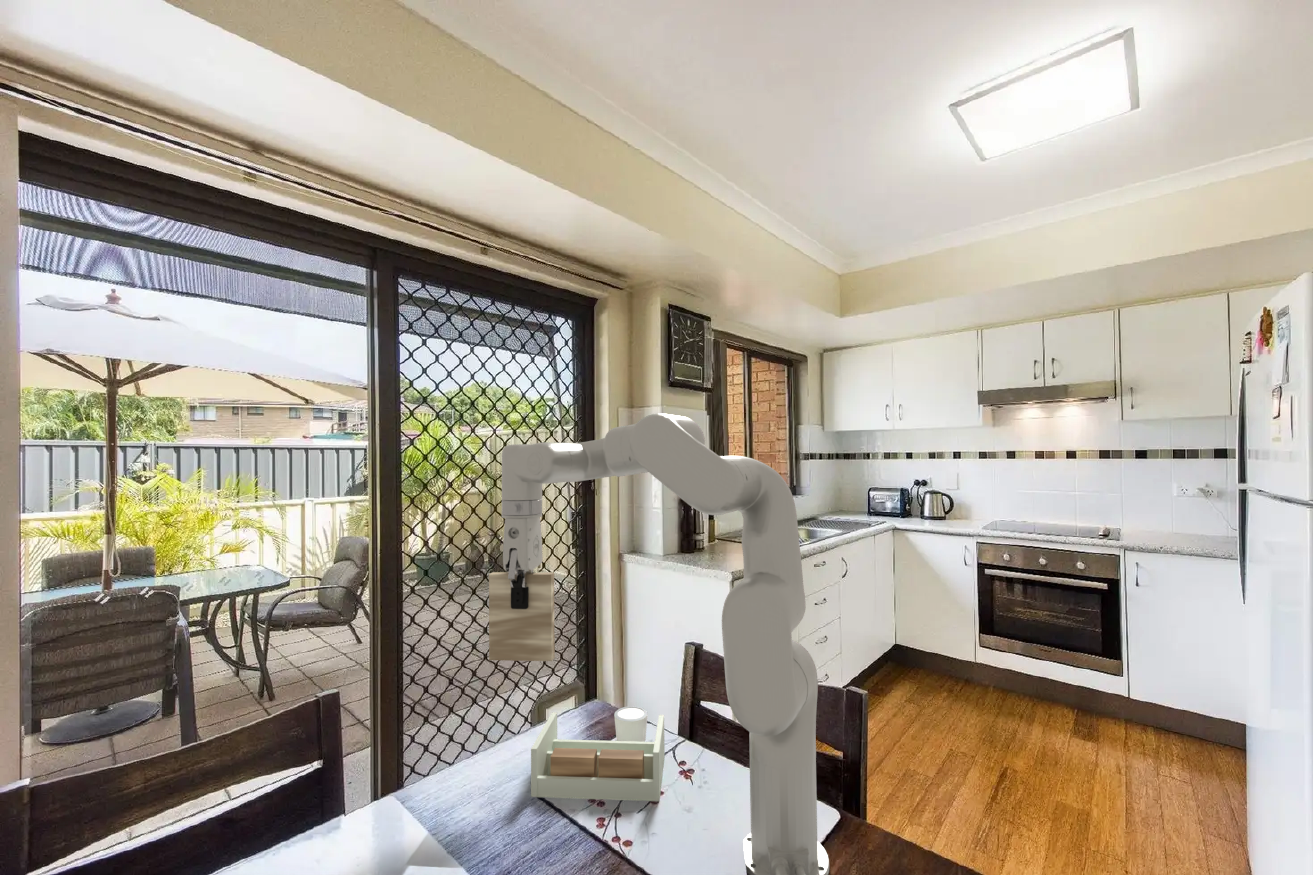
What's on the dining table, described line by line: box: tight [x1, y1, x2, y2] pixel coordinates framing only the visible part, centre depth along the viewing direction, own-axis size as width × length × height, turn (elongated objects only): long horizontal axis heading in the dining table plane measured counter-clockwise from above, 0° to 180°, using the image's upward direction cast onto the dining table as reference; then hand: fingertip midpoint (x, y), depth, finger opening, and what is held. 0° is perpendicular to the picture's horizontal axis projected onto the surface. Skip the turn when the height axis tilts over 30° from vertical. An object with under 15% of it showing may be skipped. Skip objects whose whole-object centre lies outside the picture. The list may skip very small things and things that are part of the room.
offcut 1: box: [551, 748, 597, 777], centre depth 99 cm, size 3×8×6 cm, turn 86°
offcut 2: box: [598, 749, 644, 779], centre depth 98 cm, size 3×8×6 cm, turn 86°
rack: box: [530, 711, 666, 802], centre depth 103 cm, size 14×22×10 cm, turn 86°
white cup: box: [613, 706, 649, 742], centre depth 115 cm, size 7×7×7 cm
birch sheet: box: [488, 571, 556, 662], centre depth 107 cm, size 2×12×16 cm, turn 85°
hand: (521, 605), depth 107 cm, fingers closed on birch sheet, 2 cm apart
